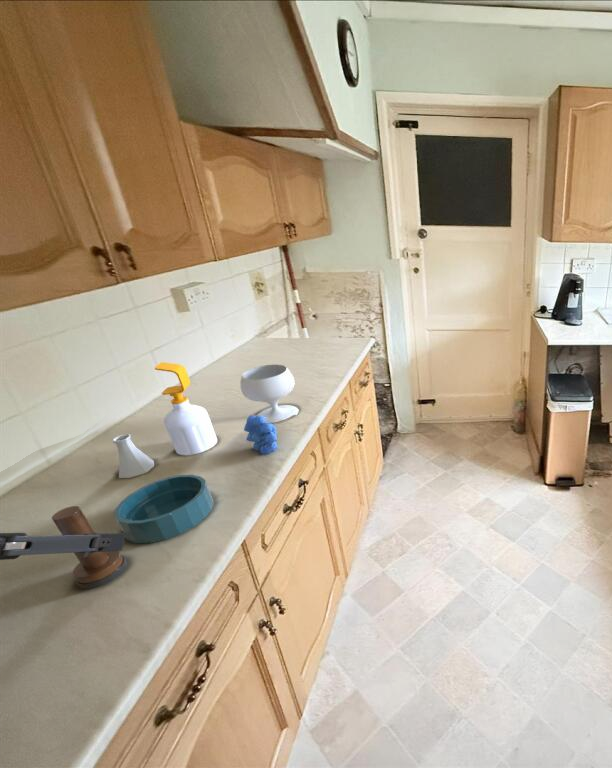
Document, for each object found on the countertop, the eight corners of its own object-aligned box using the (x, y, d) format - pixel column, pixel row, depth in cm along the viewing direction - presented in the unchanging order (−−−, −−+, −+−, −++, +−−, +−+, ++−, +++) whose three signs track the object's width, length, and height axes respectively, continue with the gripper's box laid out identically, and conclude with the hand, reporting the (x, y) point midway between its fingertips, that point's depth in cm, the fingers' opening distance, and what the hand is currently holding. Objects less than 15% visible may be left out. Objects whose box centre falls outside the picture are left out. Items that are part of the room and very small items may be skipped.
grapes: (296, 451, 106) (285, 412, 101) (272, 464, 101) (259, 424, 96) (268, 440, 111) (257, 402, 106) (244, 452, 106) (231, 413, 101)
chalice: (244, 430, 116) (229, 384, 109) (258, 408, 128) (245, 365, 122) (297, 424, 119) (285, 378, 113) (305, 403, 131) (295, 361, 125)
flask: (125, 466, 100) (108, 433, 96) (161, 460, 102) (146, 427, 98) (112, 484, 94) (94, 449, 90) (150, 476, 96) (134, 442, 92)
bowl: (106, 547, 77) (92, 524, 74) (162, 496, 90) (152, 475, 87) (184, 545, 78) (174, 522, 75) (228, 494, 91) (220, 473, 88)
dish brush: (69, 593, 68) (24, 528, 62) (102, 562, 74) (64, 499, 67) (108, 591, 68) (67, 526, 62) (138, 561, 74) (103, 498, 68)
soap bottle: (184, 441, 110) (151, 359, 100) (222, 436, 113) (194, 356, 102) (171, 460, 102) (133, 373, 92) (211, 454, 105) (179, 369, 95)
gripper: (-233, 590, 45) (-9, 570, 65) (0, 581, 46) (150, 564, 66) (-195, 520, 47) (9, 522, 67) (25, 513, 49) (162, 517, 68)
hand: (79, 543), depth 67 cm, fingers open, 13 cm apart
